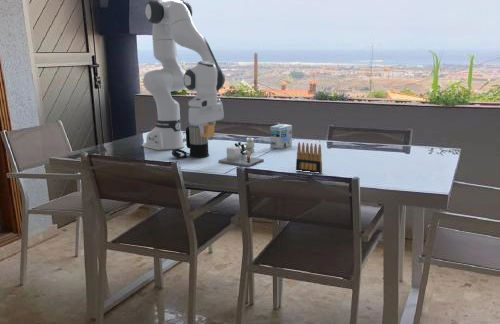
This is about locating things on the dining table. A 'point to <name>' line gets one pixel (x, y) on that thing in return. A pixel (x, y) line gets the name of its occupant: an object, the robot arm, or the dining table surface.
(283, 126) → the light bulb box
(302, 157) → the ammunition clip
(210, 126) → the orange wooden block
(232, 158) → the junction plate
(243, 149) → the valve
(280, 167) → the dining table surface
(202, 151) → the milk frother
